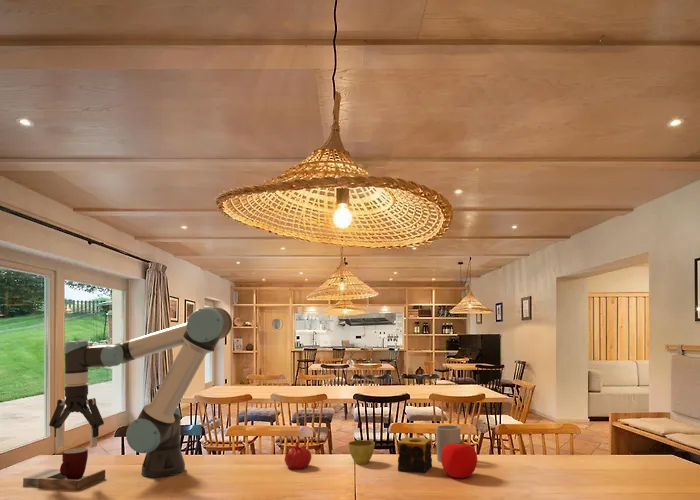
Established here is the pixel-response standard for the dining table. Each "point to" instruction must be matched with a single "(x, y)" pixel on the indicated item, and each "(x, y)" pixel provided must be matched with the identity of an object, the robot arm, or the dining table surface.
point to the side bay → (61, 480)
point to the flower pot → (361, 450)
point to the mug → (74, 463)
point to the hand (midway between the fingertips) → (76, 447)
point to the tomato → (459, 459)
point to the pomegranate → (297, 457)
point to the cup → (446, 437)
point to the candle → (414, 455)
